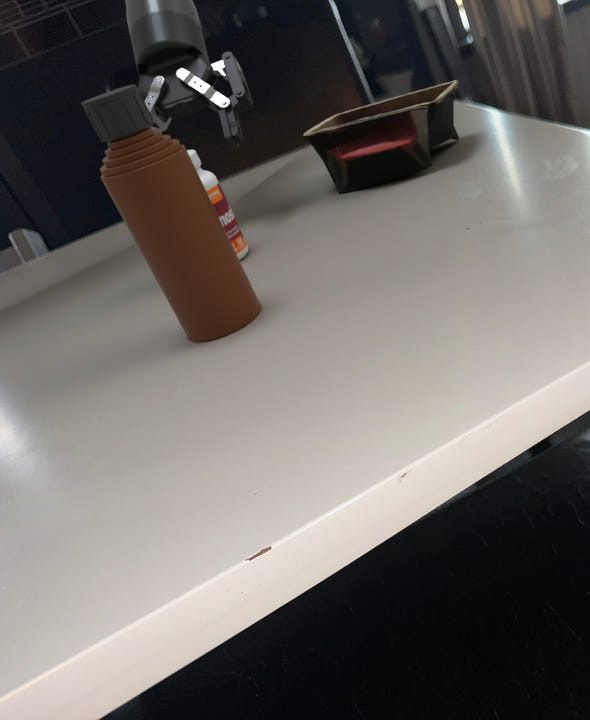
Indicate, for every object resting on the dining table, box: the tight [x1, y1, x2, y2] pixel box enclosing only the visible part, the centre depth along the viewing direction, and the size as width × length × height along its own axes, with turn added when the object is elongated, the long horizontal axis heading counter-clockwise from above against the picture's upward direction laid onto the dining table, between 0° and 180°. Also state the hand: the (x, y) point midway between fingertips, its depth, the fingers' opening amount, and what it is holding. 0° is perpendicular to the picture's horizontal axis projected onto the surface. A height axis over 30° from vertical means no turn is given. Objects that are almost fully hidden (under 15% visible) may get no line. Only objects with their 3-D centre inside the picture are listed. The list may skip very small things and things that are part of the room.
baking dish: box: [302, 79, 460, 195], centre depth 89 cm, size 14×18×10 cm
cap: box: [81, 84, 153, 143], centre depth 55 cm, size 4×4×3 cm
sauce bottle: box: [99, 126, 262, 343], centre depth 59 cm, size 6×6×18 cm
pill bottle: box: [186, 149, 249, 261], centre depth 76 cm, size 6×6×11 cm
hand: (194, 158), depth 80 cm, fingers open, 8 cm apart
